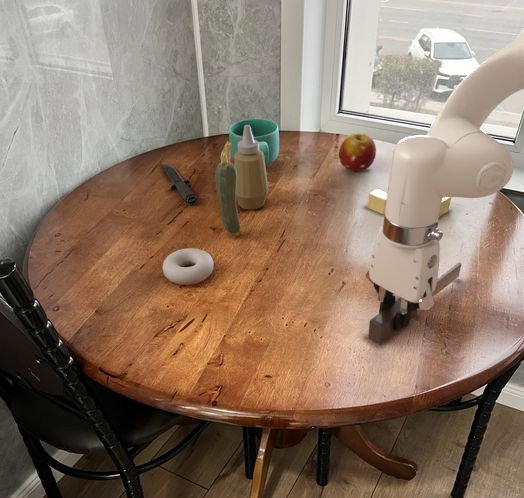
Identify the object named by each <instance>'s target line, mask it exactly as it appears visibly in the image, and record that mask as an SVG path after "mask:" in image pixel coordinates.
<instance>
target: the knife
mask: <svg viewBox="0 0 524 498" xmlns="http://www.w3.org/2000/svg"><path fill="white" fill-rule="evenodd" d="M163 168H164V169H165V173H166V175H167V176H168V178H169V179H170V181H172V182H171V183H172V185H171V186H170V190H171V191H174V190H177V191H178V193H179V195H180V196H181V197H182V199H183V200H185V202H186V204H187V205H188V206H194V205H195V204H197V202H198V197H197V195H196V194H195V193H194V192H193V190H192V188H191V187H190V186H189V184H190V180H189V179H183V177H182V176H181V174H180V173H179V172H178V171H177V170H176V168H175V167H174V166H172V165H163Z"/></svg>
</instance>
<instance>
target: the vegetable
mask: <svg viewBox="0 0 524 498" xmlns="http://www.w3.org/2000/svg"><path fill="white" fill-rule="evenodd" d="M231 147H232V143H231V142H230V140H227V141H226V143H225V144H224V146H223V148H222V151H221V153H220V162H219V163H217V166H216V169H215V173H214V174H215V188H216V194H217V202H218V206H219V211H220V217H221V221H222V224H223V226H224V229H225V230H226V232H228V233H229V234H231V235H233V236H236V237H239V235H240V234H241V233H242V232H241V222H240V218H239V213H238V212H239V211H238V208H237V204H236V196H235V192H236V182H237V171H236V167H235V165H234V162H232V161H230V160H231V158H232V155H231V149H230V148H231Z"/></svg>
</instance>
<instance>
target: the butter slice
mask: <svg viewBox="0 0 524 498" xmlns="http://www.w3.org/2000/svg"><path fill="white" fill-rule="evenodd" d="M386 200H387V191H384V190H381V189H379V188H377V189H374V190H372V191H371V192H369V193H368V199H367V208H368V209H370V210H371V211H373V212H377V213H379V214H381V215H385V208H386Z"/></svg>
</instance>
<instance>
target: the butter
mask: <svg viewBox="0 0 524 498" xmlns="http://www.w3.org/2000/svg"><path fill="white" fill-rule="evenodd" d="M451 200H452V197H443V198H442V202H441V207H440V212H439V217H438V218H440V217H441V216H444V215H445V214H446V213H448V212H449V211H450V207H451V206H450V205H451Z"/></svg>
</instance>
